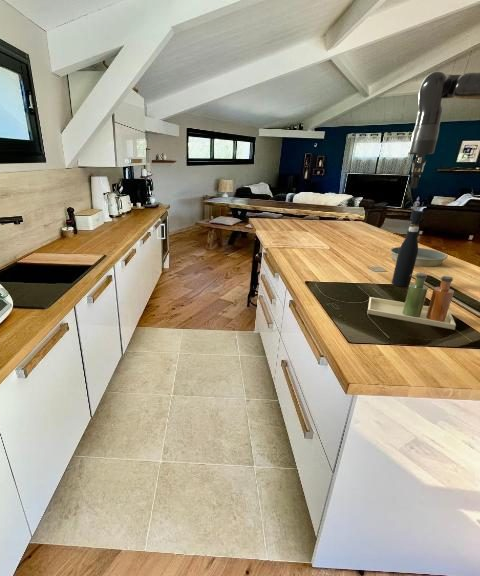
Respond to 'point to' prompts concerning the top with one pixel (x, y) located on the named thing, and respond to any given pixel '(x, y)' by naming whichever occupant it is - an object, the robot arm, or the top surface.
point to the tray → (395, 311)
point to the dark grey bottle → (407, 253)
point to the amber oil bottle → (440, 300)
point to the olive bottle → (415, 296)
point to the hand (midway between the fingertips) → (413, 187)
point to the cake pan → (424, 257)
